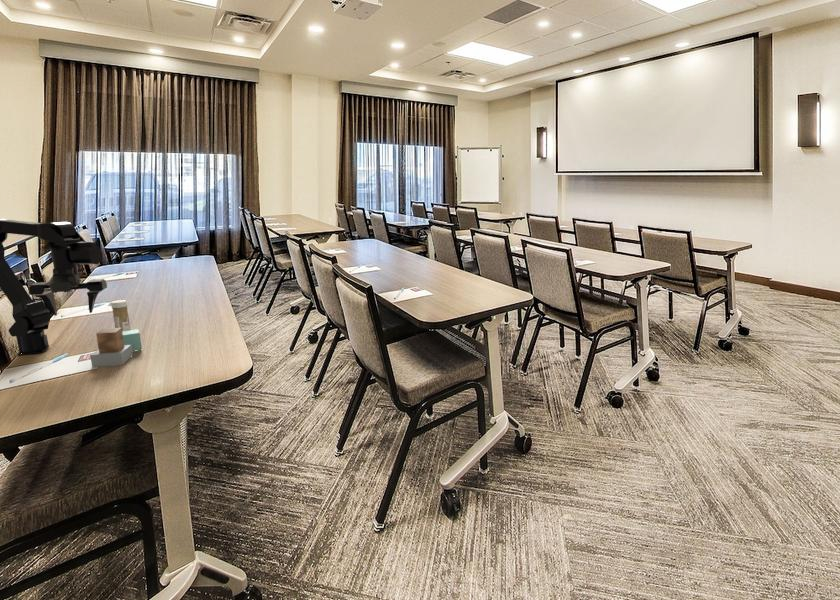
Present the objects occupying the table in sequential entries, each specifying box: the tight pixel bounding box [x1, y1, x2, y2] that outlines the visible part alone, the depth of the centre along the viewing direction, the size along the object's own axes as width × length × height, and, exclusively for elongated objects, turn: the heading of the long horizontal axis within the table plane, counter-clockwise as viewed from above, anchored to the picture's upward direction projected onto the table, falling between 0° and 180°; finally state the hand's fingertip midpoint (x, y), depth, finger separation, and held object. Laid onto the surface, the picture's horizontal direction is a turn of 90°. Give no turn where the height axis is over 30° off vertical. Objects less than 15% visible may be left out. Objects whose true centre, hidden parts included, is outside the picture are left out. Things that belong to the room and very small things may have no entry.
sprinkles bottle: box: [110, 299, 131, 331], centre depth 160 cm, size 5×5×13 cm
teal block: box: [122, 328, 143, 351], centre depth 150 cm, size 5×5×6 cm
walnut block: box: [96, 327, 124, 353], centre depth 139 cm, size 5×5×6 cm
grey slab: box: [90, 345, 134, 368], centre depth 140 cm, size 8×8×4 cm
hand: (73, 313), depth 146 cm, fingers open, 9 cm apart
